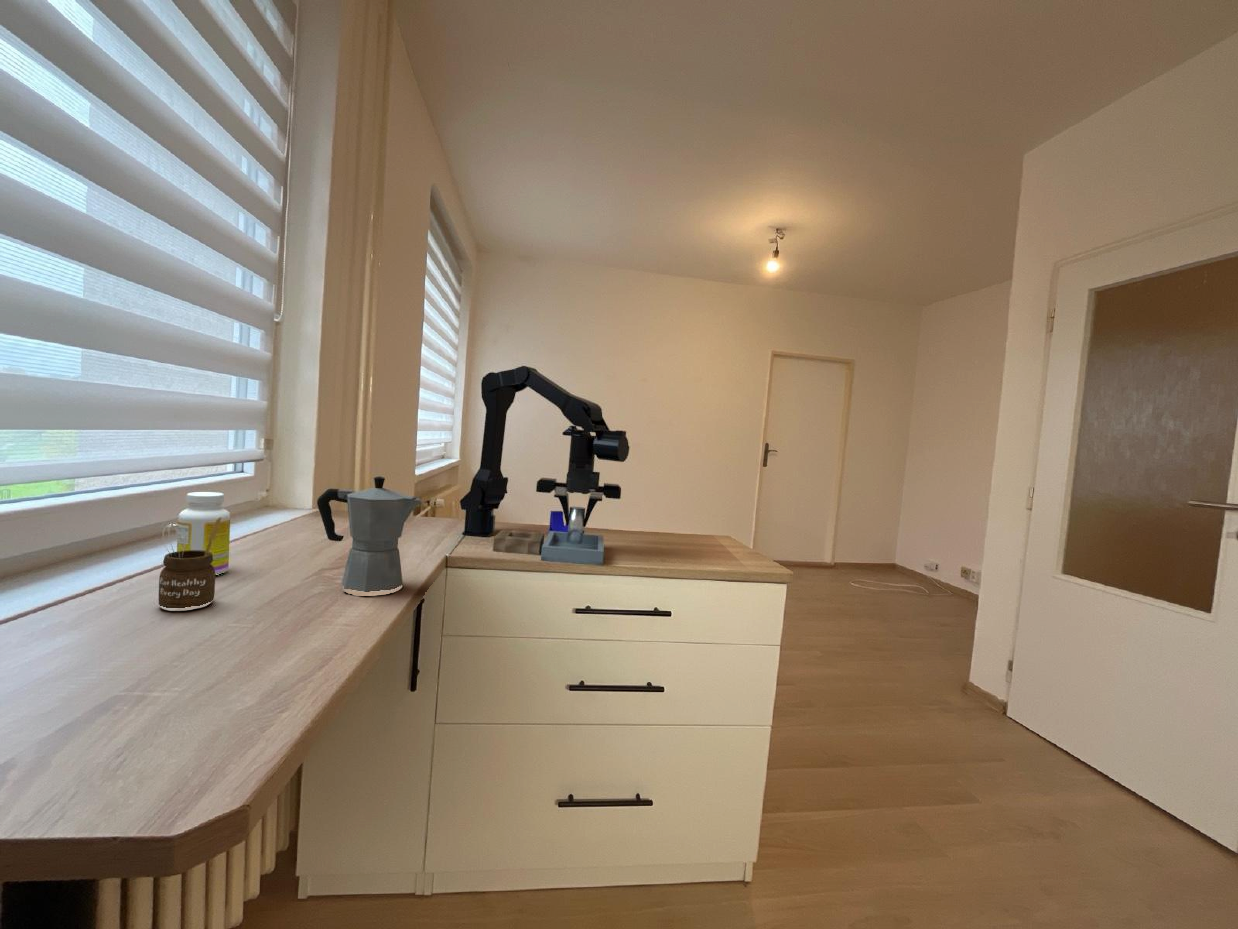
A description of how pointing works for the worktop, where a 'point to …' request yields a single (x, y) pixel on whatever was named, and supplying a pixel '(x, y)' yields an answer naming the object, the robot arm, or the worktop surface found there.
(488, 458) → the robot arm
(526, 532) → the socket block
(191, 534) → the supplement bottle
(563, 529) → the cable clip
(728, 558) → the worktop surface
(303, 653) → the worktop surface
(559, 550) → the tray
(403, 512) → the coffeepot
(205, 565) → the utensil holder
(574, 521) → the silver metal cylinder
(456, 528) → the worktop surface
